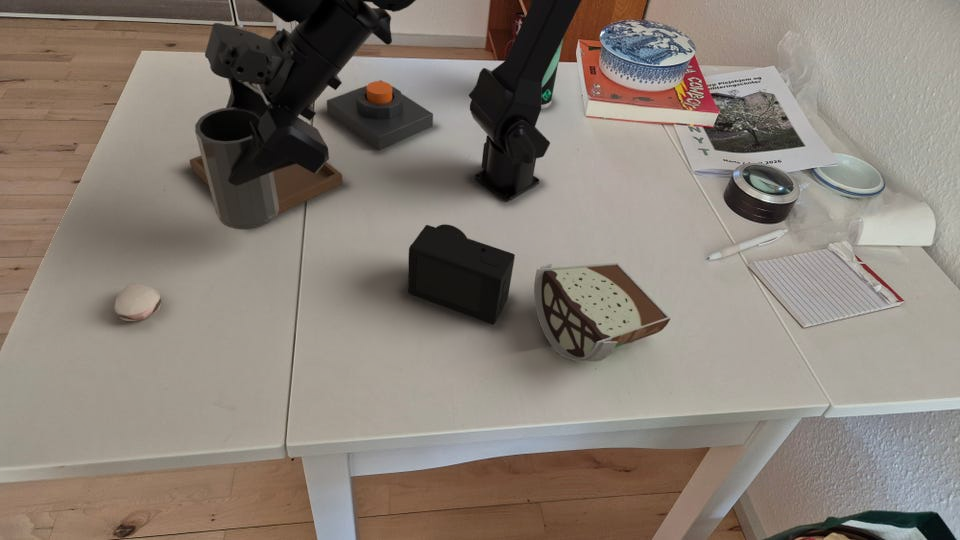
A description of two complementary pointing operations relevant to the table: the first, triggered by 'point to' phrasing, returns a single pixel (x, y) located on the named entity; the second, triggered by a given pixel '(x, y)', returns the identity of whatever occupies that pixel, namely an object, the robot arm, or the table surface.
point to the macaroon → (137, 302)
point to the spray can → (550, 79)
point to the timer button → (379, 92)
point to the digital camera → (459, 272)
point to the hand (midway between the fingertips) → (224, 163)
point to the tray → (291, 182)
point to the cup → (221, 150)
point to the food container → (593, 309)
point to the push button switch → (380, 117)
